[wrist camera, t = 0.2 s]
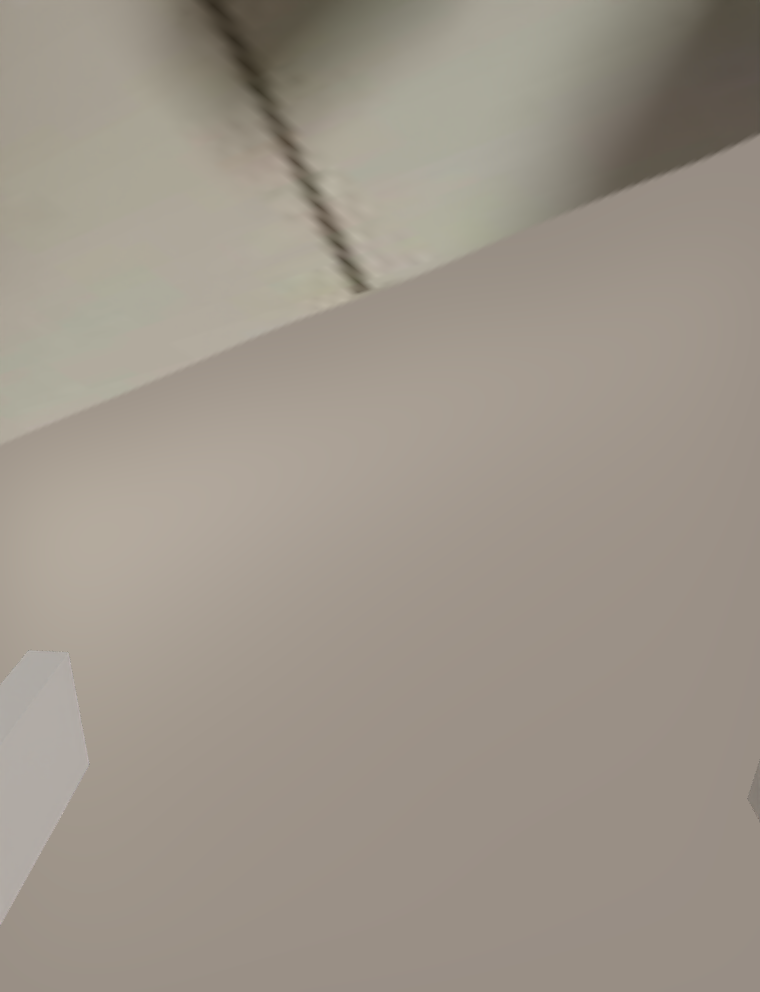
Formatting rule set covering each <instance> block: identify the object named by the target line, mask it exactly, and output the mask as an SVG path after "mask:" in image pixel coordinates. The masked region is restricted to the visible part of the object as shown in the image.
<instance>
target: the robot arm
mask: <svg viewBox="0 0 760 992" xmlns="http://www.w3.org/2000/svg"><path fill="white" fill-rule="evenodd" d="M88 767H89V759H88V754H87V748H86V743H85V738H84V732H83V727H82V721H81V716H80V710H79V705H78V699H77V694H76V689H75V683H74V678H73V673H72V667H71V662H70V656H69V652H54V651H33V650H28V651H27V652H26V654H25V655H24V656H23V657H22V659H21V660H20V661H19V662H18V663H17V665H16V666H15V667H14V668H13V670H12V671H11V672H10V673H9V674H8V676H7V677H6V678H5V679H4V680H3V682H2V683H1V684H0V925H1V923H2V921H3V920H4V918H5V916H6V914H7V912H8V910H9V909H10V907H11V905H12V903H13V902H14V900H15V898H16V896H17V894H18V893H19V891H20V889H21V887H22V885H23V884H24V882H25V880H26V878H27V876H28V875H29V873H30V871H31V869H32V867H33V866H34V864H35V862H36V860H37V858H38V856H39V855H40V853H41V851H42V849H43V848H44V846H45V844H46V842H47V840H48V838H49V837H50V835H51V833H52V831H53V830H54V828H55V826H56V824H57V822H58V821H59V819H60V817H61V815H62V813H63V812H64V809H65V808H66V806H67V804H68V803H69V801H70V799H71V797H72V795H73V794H74V792H75V790H76V788H77V786H78V784H79V783H80V781H81V779H82V777H83V775H84V774H85V772H86V770H87V768H88ZM747 799H748V801H749V802H750V804H751V806H752V808H753V809H754V812H755V814H756V815H757V817H758V819H759V821H760V761H759V764H758V767H757V770H756V773H755V776H754V779H753V783H752V786H751V789H750V792H749V795H748V798H747Z"/></svg>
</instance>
